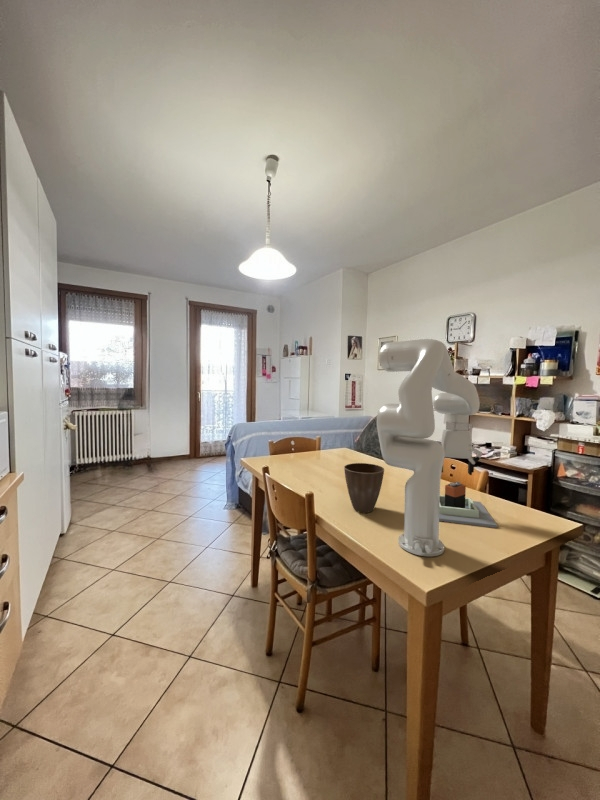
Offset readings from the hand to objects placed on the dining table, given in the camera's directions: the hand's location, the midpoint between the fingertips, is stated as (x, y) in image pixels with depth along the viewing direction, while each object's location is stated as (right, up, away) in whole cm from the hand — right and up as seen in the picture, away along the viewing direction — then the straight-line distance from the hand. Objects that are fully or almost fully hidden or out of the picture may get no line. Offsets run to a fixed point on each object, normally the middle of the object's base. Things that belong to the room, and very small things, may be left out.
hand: (455, 472), depth 117 cm
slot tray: (0, -15, +1) cm, 15 cm away
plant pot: (-34, -15, +3) cm, 37 cm away
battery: (0, -14, +1) cm, 14 cm away
